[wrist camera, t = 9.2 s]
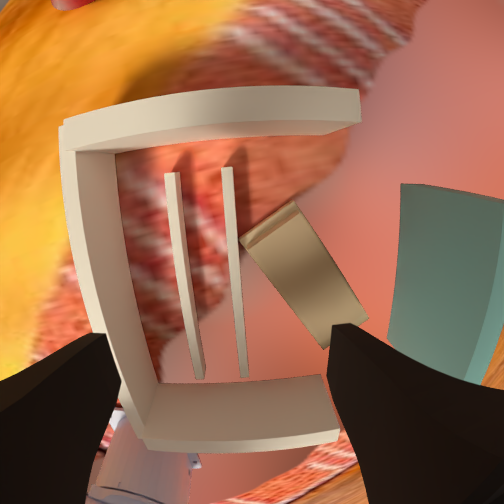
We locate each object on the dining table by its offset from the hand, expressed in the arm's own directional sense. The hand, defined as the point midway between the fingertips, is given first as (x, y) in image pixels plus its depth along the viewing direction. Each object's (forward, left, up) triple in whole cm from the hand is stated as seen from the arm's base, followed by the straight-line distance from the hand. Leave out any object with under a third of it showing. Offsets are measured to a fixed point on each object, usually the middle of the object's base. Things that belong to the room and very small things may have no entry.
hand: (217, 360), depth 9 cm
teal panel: (-2, -13, -10) cm, 17 cm away
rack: (-1, +1, -10) cm, 10 cm away
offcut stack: (-2, -5, -11) cm, 12 cm away
